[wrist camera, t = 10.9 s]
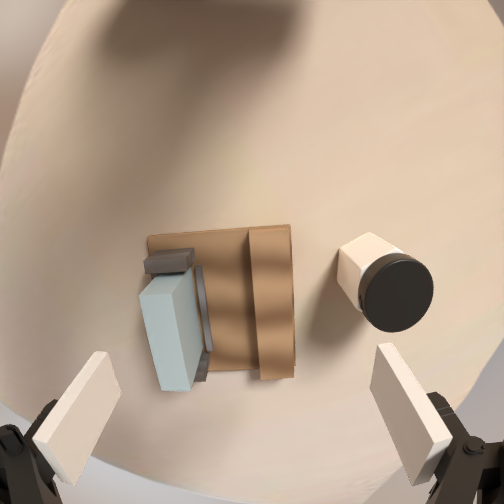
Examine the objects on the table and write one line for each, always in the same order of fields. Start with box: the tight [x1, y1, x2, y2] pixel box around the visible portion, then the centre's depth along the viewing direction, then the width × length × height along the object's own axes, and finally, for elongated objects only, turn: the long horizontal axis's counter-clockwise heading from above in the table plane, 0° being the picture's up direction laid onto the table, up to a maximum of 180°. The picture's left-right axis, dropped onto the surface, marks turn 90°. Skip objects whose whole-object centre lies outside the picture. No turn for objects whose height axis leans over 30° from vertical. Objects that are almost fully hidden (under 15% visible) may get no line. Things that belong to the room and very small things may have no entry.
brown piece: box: [144, 225, 295, 382], centre depth 40 cm, size 20×18×6 cm
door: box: [139, 267, 203, 391], centre depth 37 cm, size 12×4×10 cm, turn 4°
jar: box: [337, 232, 434, 333], centre depth 36 cm, size 9×8×12 cm
